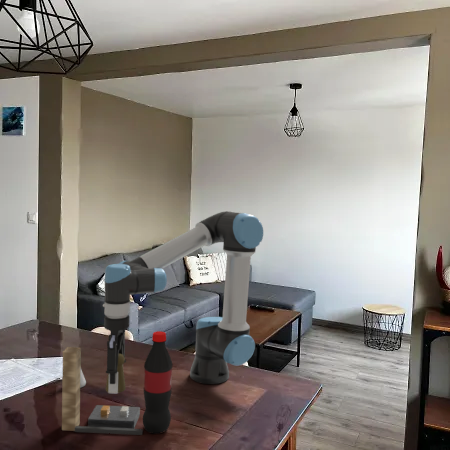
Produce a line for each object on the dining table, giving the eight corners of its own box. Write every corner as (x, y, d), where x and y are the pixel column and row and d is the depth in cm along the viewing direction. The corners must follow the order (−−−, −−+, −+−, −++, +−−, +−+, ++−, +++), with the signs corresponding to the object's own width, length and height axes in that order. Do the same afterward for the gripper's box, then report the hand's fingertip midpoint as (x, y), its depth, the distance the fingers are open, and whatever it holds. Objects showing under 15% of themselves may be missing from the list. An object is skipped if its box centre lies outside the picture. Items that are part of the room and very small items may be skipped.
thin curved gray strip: (142, 432, 141) (142, 429, 141) (142, 435, 140) (142, 431, 140) (75, 429, 141) (76, 425, 141) (74, 431, 140) (74, 428, 140)
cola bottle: (171, 422, 148) (174, 328, 145) (169, 436, 140) (172, 337, 137) (144, 421, 148) (147, 327, 145) (140, 435, 139) (143, 336, 137)
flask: (79, 390, 167) (80, 363, 166) (61, 388, 169) (61, 360, 168) (89, 382, 174) (90, 356, 173) (71, 379, 176) (72, 353, 175)
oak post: (79, 424, 145) (80, 347, 142) (75, 430, 141) (76, 352, 138) (66, 423, 145) (67, 347, 142) (61, 430, 141) (62, 351, 138)
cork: (101, 389, 146) (101, 354, 145) (117, 383, 151) (117, 349, 150) (113, 395, 142) (114, 359, 141) (129, 388, 147) (130, 354, 146)
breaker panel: (139, 414, 152) (140, 402, 152) (134, 429, 143) (134, 416, 143) (96, 412, 152) (96, 400, 152) (87, 427, 143) (88, 414, 143)
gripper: (112, 306, 154) (111, 375, 156) (95, 324, 135) (95, 401, 137) (135, 307, 154) (134, 376, 156) (122, 325, 135) (120, 402, 137)
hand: (115, 387), depth 147 cm, fingers closed on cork, 6 cm apart
